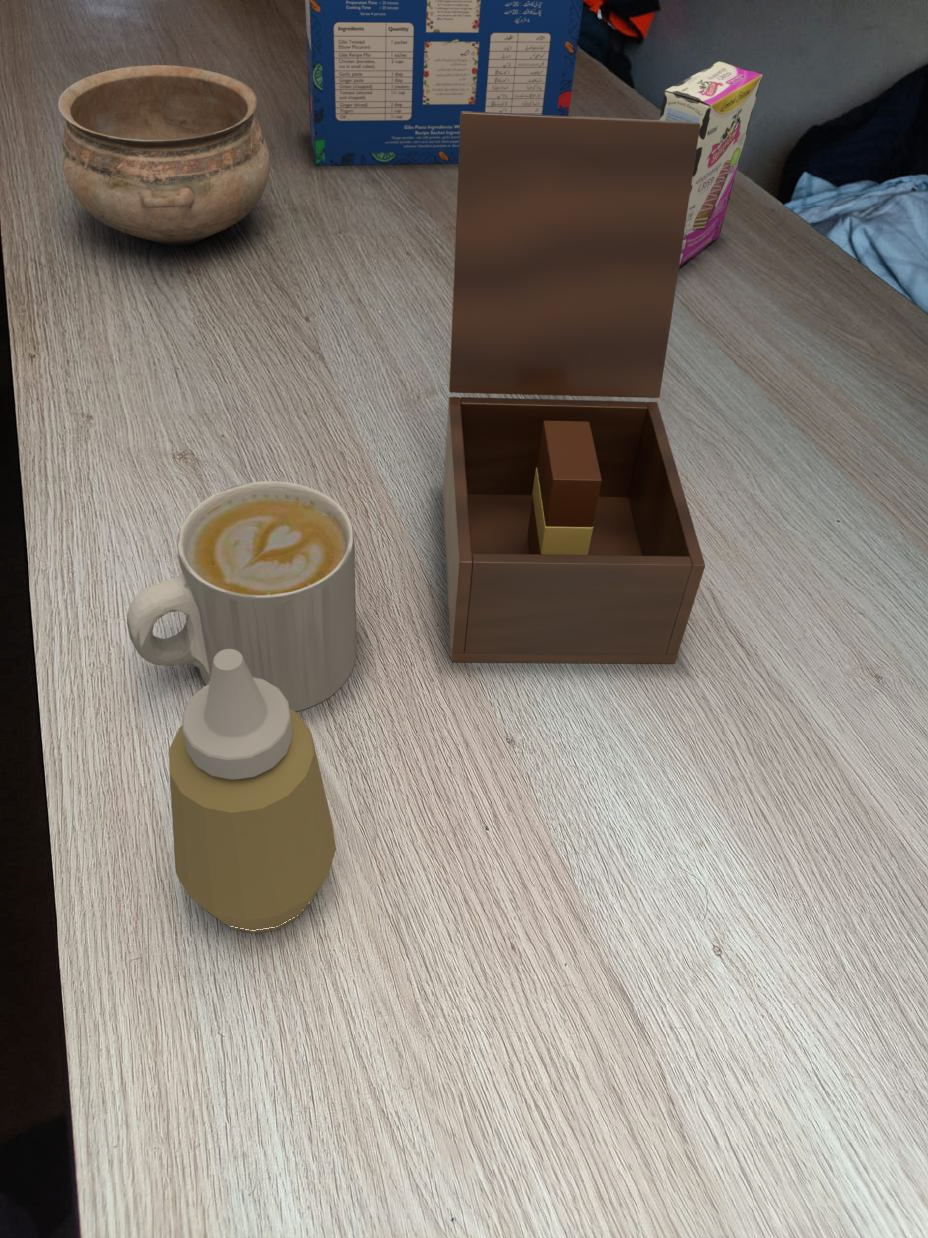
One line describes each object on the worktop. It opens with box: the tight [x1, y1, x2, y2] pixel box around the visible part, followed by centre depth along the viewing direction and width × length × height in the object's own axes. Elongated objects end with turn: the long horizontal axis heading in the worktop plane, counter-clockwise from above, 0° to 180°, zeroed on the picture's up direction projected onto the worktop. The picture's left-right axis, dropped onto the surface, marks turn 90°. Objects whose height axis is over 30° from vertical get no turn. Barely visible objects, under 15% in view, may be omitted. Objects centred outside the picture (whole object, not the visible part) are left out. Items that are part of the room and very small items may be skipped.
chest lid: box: [448, 111, 700, 399], centre depth 71 cm, size 17×15×4 cm
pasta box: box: [304, 0, 584, 167], centre depth 112 cm, size 28×8×28 cm, turn 100°
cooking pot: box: [57, 64, 270, 247], centre depth 101 cm, size 25×19×12 cm
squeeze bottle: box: [168, 649, 337, 934], centre depth 50 cm, size 8×8×18 cm
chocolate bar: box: [527, 421, 602, 555], centre depth 70 cm, size 3×6×10 cm, turn 3°
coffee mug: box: [126, 480, 357, 713], centre depth 64 cm, size 13×10×10 cm
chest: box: [442, 396, 706, 664], centre depth 71 cm, size 17×15×9 cm
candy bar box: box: [658, 61, 763, 269], centre depth 103 cm, size 11×5×16 cm, turn 144°
